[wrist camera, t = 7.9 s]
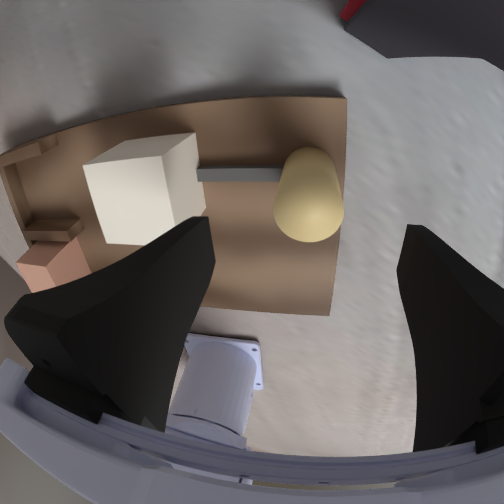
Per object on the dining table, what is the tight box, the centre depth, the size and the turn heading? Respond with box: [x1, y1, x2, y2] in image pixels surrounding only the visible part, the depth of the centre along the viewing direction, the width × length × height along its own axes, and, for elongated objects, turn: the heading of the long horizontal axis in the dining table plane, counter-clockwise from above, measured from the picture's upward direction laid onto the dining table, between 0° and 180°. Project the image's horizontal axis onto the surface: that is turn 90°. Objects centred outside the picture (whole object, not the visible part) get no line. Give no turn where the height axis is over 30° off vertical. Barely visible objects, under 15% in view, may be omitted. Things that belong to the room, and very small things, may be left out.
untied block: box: [16, 237, 92, 293], centre depth 23 cm, size 5×5×4 cm
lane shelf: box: [0, 96, 347, 316], centre depth 20 cm, size 16×28×3 cm, turn 94°
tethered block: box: [83, 133, 344, 245], centre depth 15 cm, size 5×13×5 cm, turn 94°
